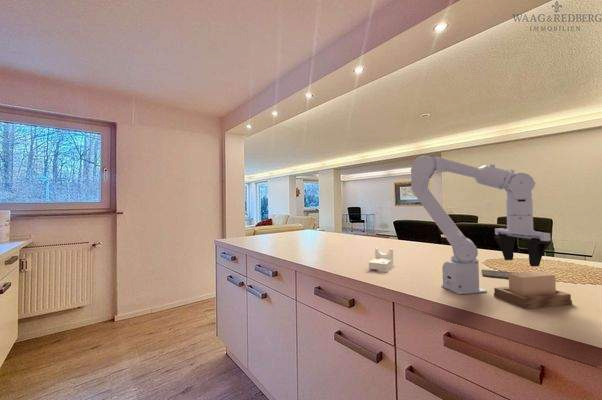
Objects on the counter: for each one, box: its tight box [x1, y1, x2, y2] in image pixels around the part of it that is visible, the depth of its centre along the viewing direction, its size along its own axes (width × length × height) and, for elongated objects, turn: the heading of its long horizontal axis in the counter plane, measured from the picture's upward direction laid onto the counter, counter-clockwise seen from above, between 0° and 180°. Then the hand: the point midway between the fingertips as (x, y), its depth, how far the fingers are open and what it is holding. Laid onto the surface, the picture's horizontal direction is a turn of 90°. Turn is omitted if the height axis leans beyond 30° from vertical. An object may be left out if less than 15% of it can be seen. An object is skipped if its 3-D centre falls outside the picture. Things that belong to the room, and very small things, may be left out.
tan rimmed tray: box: [493, 286, 573, 310], centre depth 70 cm, size 14×9×2 cm, turn 98°
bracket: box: [368, 247, 394, 273], centre depth 109 cm, size 13×7×8 cm, turn 149°
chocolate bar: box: [481, 268, 515, 280], centre depth 92 cm, size 9×1×18 cm
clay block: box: [508, 270, 557, 296], centre depth 70 cm, size 10×4×6 cm, turn 98°
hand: (521, 262), depth 74 cm, fingers open, 7 cm apart
